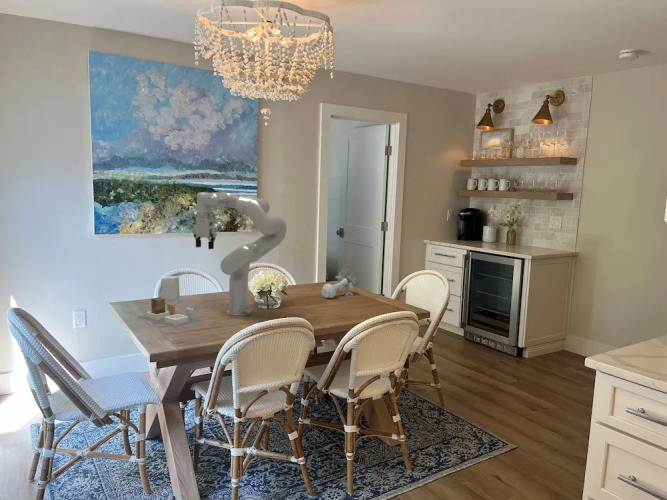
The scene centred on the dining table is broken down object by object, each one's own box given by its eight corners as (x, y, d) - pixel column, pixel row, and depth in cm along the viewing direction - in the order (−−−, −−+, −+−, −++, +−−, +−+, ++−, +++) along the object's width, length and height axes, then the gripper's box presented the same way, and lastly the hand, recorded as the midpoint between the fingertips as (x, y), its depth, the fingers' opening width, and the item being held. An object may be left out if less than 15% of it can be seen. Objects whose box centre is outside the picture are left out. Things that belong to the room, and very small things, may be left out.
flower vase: (332, 310, 299) (358, 294, 316) (332, 284, 291) (359, 268, 308) (317, 303, 307) (343, 287, 324) (316, 276, 299) (343, 262, 316)
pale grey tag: (193, 318, 245) (193, 309, 244) (191, 319, 244) (191, 309, 243) (187, 317, 248) (187, 307, 247) (185, 318, 246) (185, 308, 246)
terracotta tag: (175, 314, 253) (175, 304, 252) (172, 314, 252) (172, 305, 251) (169, 312, 255) (169, 303, 255) (167, 313, 254) (167, 303, 253)
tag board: (202, 322, 243) (202, 315, 243) (175, 329, 230) (175, 322, 230) (164, 312, 259) (164, 305, 259) (137, 318, 246) (137, 312, 245)
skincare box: (180, 303, 280) (179, 275, 278) (176, 306, 273) (176, 278, 271) (165, 302, 279) (164, 275, 277) (161, 305, 273) (161, 277, 271)
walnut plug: (165, 316, 248) (164, 298, 247) (157, 318, 244) (157, 300, 243) (159, 314, 250) (158, 297, 249) (151, 316, 246) (151, 298, 245)
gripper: (221, 216, 260) (221, 249, 262) (198, 214, 269) (199, 245, 272) (210, 217, 254) (210, 250, 256) (187, 215, 263) (188, 247, 265)
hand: (204, 248), depth 264 cm, fingers open, 9 cm apart
